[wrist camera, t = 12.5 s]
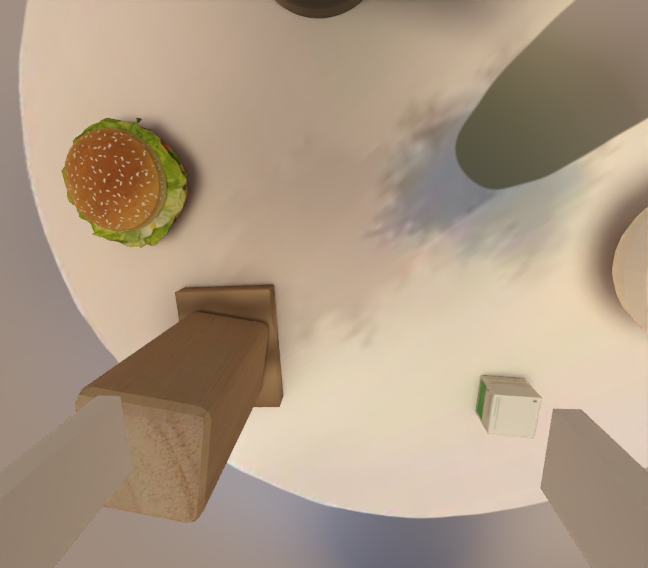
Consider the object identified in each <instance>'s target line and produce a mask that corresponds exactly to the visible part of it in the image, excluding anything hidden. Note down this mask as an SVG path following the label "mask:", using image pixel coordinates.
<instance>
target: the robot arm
mask: <svg viewBox="0 0 648 568" xmlns="http://www.w3.org/2000/svg"><path fill="white" fill-rule="evenodd" d="M275 1H277V2H278V3H279V4H280V5H282V6H283V7H284V8H286V9H288V10H289V11H291V12H293V13H296V14H298V15H302V16H306V17H312V18H325V17H331V16H335V15H338V14H341V13H343V12H346V11H348V10H350V9H351V8H353V7H354V6H356V5H357V4H359V3H360V2H361V1H362V0H275ZM133 469H134V468H133V463H132V457H131V452H130V446H129V441H128V435H127V430H126V424H125V419H124V413H123V408H122V402H121V397H120V396H101V395H98V396H96V397H95V398H94V399H92V400H91V401H90V402H89V403H87V404H86V405H85V406H84V407H82V408H81V409H80V410H78V411H77V412H76V413H75V414H73V415H72V416H71V417H70V418H69V419H67V420H66V421H64V422H63V423H62V424H61V425H59V426H58V427H57V428H56V429H54V430H53V431H52V432H50V433H49V434H48V435H46V436H45V437H44V438H43V439H41V440H40V441H39V442H38V443H37V444H35V445H34V446H32V447H31V448H30V449H29V450H27V451H26V452H25V453H23V455H21V456H20V457H19V458H17V459H16V460H15V461H13V462H12V463H11V464H10V465H8V466H7V467H6V468H4V469H3V470H2V471H1V472H0V568H54V567H55V566H56V565H57V563H58V562H59V561H60V559H61V558H62V557H63V555H65V553H66V552H67V551H68V550H69V548H70V547H71V546H72V544H73V543H74V542H75V541H76V540H77V538H78V537H79V536H80V534H81V533H82V532H83V531H84V530H85V528H86V527H87V526H88V525H89V523H90V522H91V521H92V520H93V519H94V517H95V516H96V515H97V513H98V512H99V511H100V510H101V509H102V507H103V506H104V505H105V504H106V502H107V501H108V500H109V499H110V497H111V496H112V495H113V494H114V492H115V491H116V490H117V489H118V487H119V486H120V485H121V484H122V482H123V481H124V480H125V479H126V477H127V476H128V475H129V474H130V473H131V471H132V470H133ZM541 490H542V491H543V493H544V494H545V496H546V497H547V499H548V501H549V502H550V504H551V505H552V507H553V508H554V510H555V512H556V513H557V515H558V516H559V518H560V519H561V521H562V522H563V524H564V526H565V527H566V529H567V530H568V532H569V533H570V535H571V537H572V538H573V539H574V541H575V543H576V545H577V546H578V548H579V549H580V551H581V552H582V554H583V556H584V557H585V559H586V560H587V562H588V563H589V565H590V566H591V568H648V472H647V471H646V470H645V469H644V468H643V467H642V466H641V465H640V464H639V463H638V462H636V461H635V460H634V459H633V458H632V457H631V456H630V455H629V454H628V453H627V452H626V451H625V450H624V449H623V448H622V447H621V446H619V445H618V444H617V443H616V442H615V441H614V440H613V439H612V438H611V437H610V436H609V435H608V434H607V433H606V432H605V431H604V430H602V429H601V428H600V427H599V426H598V425H597V424H596V423H595V422H594V421H593V420H592V419H591V418H590V417H589V416H588V415H587V414H585V413H584V412H583V411H582V410H580V409H553V412H552V419H551V425H550V431H549V438H548V444H547V450H546V456H545V463H544V469H543V475H542V482H541Z"/></svg>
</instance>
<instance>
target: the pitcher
mask: <svg viewBox="0 0 648 568" xmlns="http://www.w3.org/2000/svg"><path fill="white" fill-rule="evenodd" d="M612 276H613V281H614V286H615V290H616V295H617V297H618V299H619V301H620V303H621V305H622V307H623V308H624V309H625V311H626V312H627V313H628V314H629V315H630V316H631V317H632V319H633V320H634V321H635V322H636V323H637V324H638V325H639V326H640V328H641V329H642V330H643V331H644V332H645V333H646V334H647V335H648V207H647V208H645V209H644V210H643V211H642V212H641V213H640V214H639V215H638V216H637V217H636V218H635V219H634V220H633V222H632V223H631V224H630V226H629V227H628V228H627V230H626V231H625V232H624V234H623V235H622V237H621V239H620V241H619V244H618V246H617V248H616V251H615V255H614V260H613V267H612Z"/></svg>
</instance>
